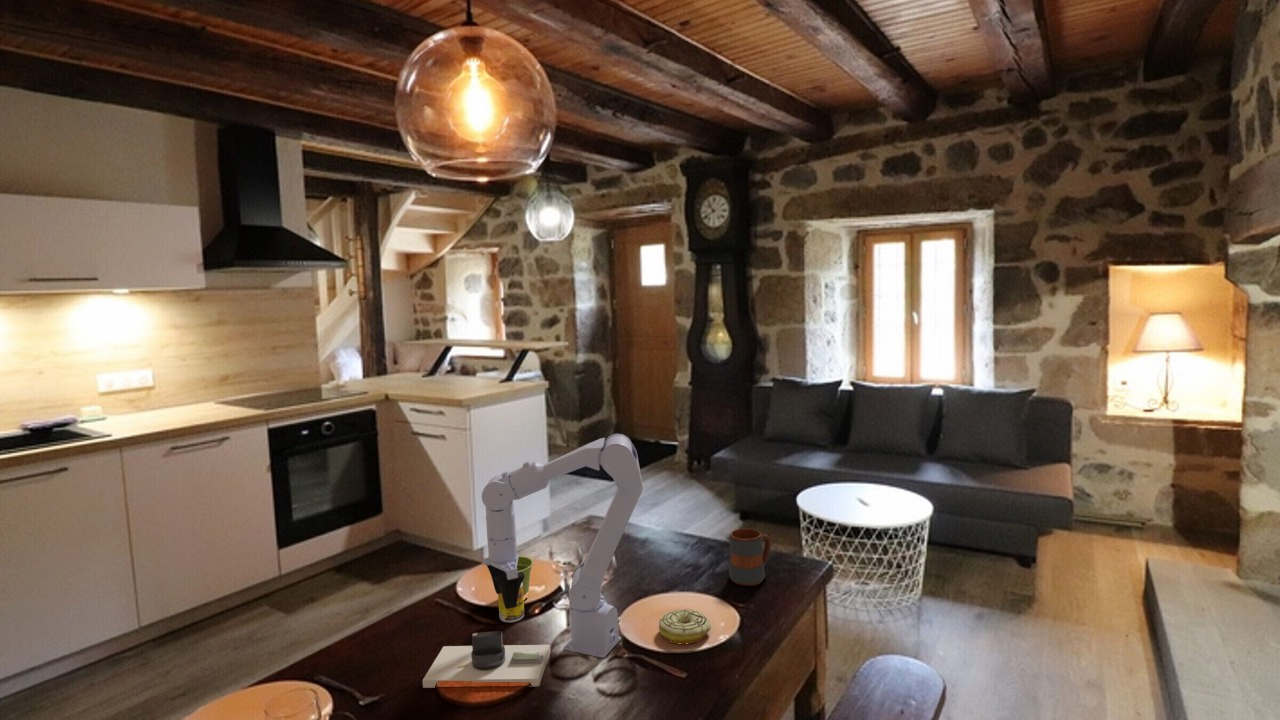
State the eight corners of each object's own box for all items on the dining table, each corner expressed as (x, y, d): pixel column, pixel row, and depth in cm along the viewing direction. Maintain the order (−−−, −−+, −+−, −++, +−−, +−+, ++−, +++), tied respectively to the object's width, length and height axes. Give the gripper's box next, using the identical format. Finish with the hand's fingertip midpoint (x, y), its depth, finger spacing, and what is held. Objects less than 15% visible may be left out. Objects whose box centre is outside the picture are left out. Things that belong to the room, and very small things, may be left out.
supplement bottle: (505, 626, 151) (502, 581, 150) (495, 616, 155) (492, 573, 154) (528, 618, 154) (525, 575, 153) (518, 609, 158) (515, 567, 157)
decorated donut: (720, 633, 144) (720, 616, 144) (684, 653, 137) (684, 635, 137) (685, 616, 152) (684, 600, 152) (649, 634, 145) (649, 617, 144)
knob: (506, 650, 137) (505, 623, 137) (503, 668, 131) (501, 640, 130) (474, 653, 137) (472, 626, 136) (469, 671, 130) (467, 643, 130)
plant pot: (527, 608, 159) (525, 572, 158) (489, 607, 160) (486, 571, 159) (540, 590, 168) (538, 556, 167) (503, 589, 169) (501, 555, 168)
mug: (782, 577, 169) (781, 531, 168) (744, 590, 163) (743, 543, 162) (759, 565, 177) (758, 522, 175) (722, 577, 171) (720, 532, 169)
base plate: (550, 651, 140) (549, 635, 139) (539, 686, 128) (538, 668, 127) (444, 653, 141) (442, 637, 140) (423, 687, 129) (421, 670, 128)
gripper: (474, 528, 144) (478, 590, 145) (490, 551, 131) (495, 619, 132) (507, 522, 147) (511, 582, 148) (526, 544, 134) (530, 610, 135)
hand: (505, 599), depth 141 cm, fingers open, 7 cm apart
